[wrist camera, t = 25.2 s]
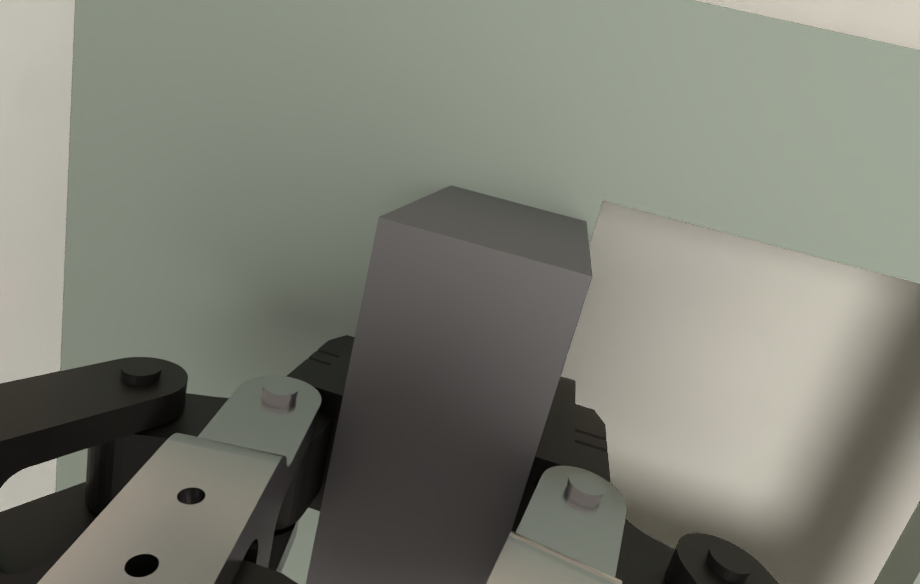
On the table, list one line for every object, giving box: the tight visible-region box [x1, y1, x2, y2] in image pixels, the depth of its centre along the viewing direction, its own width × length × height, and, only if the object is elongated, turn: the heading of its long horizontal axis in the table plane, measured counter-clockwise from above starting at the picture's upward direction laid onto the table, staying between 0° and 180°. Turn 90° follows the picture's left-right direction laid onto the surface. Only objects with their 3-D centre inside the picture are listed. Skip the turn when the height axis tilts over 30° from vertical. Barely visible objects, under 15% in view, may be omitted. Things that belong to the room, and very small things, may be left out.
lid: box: [56, 0, 920, 584], centre depth 12 cm, size 24×17×6 cm
